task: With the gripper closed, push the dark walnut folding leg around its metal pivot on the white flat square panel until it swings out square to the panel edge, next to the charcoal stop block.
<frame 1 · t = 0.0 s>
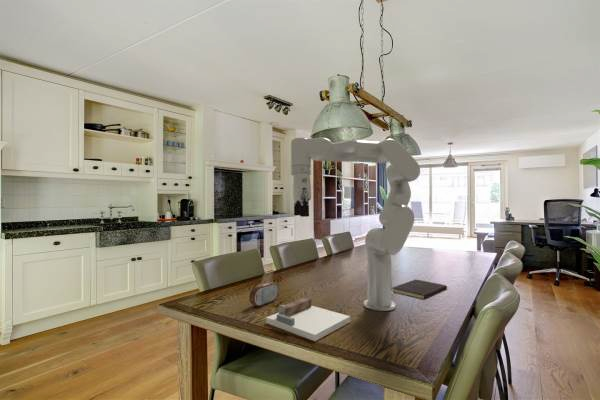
hand: (301, 215, 120), 37 cm above the table, tool pointing down, fingers open, 9 cm apart
tin: (265, 304, 132), on the table
white flat square panel: (308, 322, 111), on the table
folding leg: (294, 306, 116), point 4 cm above the table, hinge at 0.0°
hardcover book: (419, 291, 150), on the table
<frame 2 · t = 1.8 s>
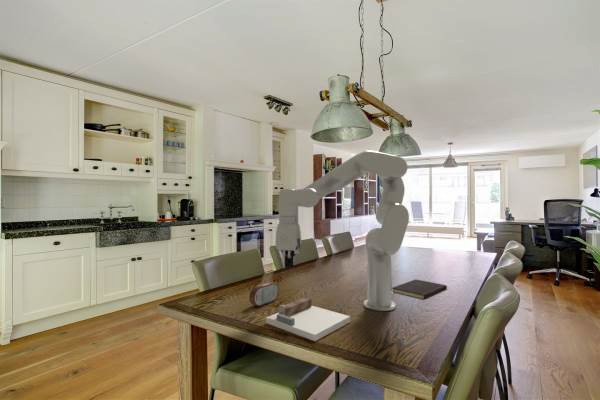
hand: (288, 267, 123), 17 cm above the table, tool pointing down, fingers closed
nothing on the table moved.
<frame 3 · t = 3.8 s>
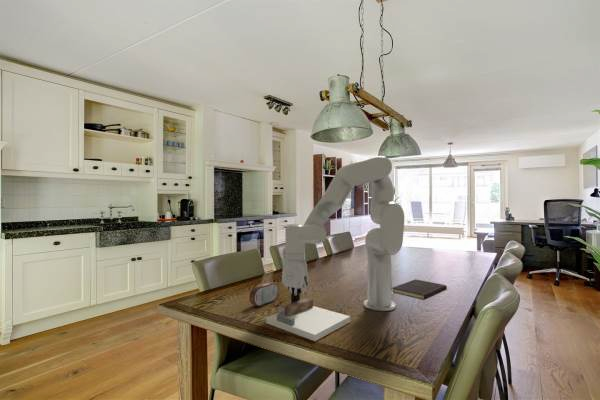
hand: (295, 304, 121), 3 cm above the table, tool pointing down, fingers closed
folding leg: (295, 306, 116), point 4 cm above the table, hinge at 3.2°, touching gripper
everything else where it was.
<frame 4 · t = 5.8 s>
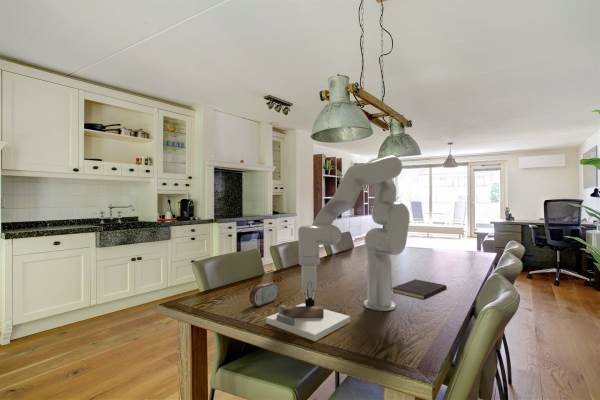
hand: (310, 309, 115), 3 cm above the table, tool pointing down, fingers closed
folding leg: (301, 311, 111), point 4 cm above the table, hinge at 48.0°, touching gripper
everything else where it was.
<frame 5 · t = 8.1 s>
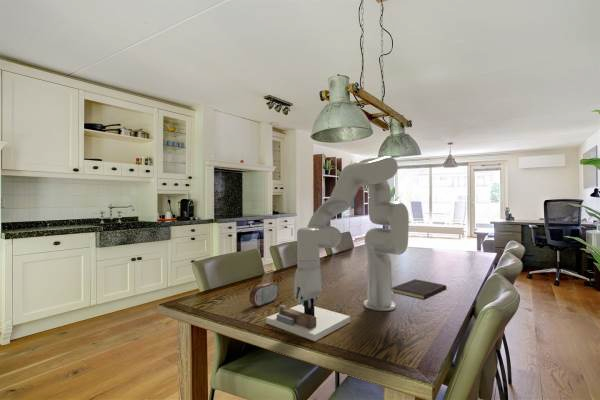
hand: (309, 317, 107), 3 cm above the table, tool pointing down, fingers closed
folding leg: (295, 315, 107), point 4 cm above the table, hinge at 91.8°, touching gripper
everything else where it was.
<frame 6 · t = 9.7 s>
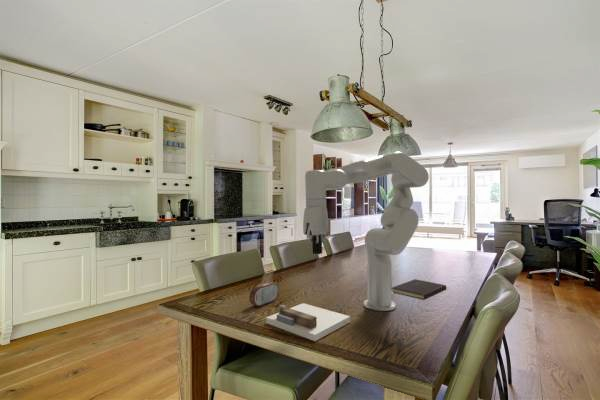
hand: (317, 253, 116), 24 cm above the table, tool pointing down, fingers closed
folding leg: (295, 315, 107), point 4 cm above the table, hinge at 91.4°
everything else where it was.
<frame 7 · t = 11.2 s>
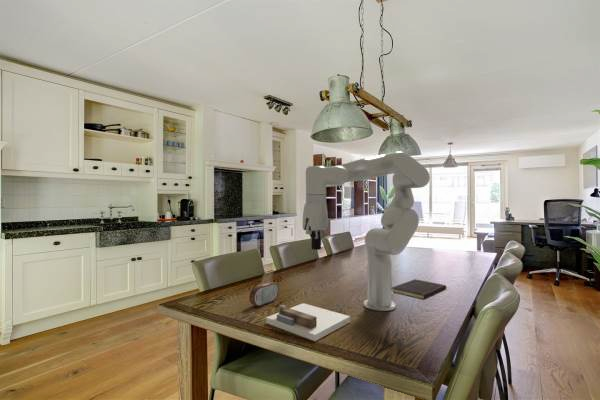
hand: (316, 249, 116), 25 cm above the table, tool pointing down, fingers closed
nothing on the table moved.
at the end: folding leg at +91° (first picture: +0°) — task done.
